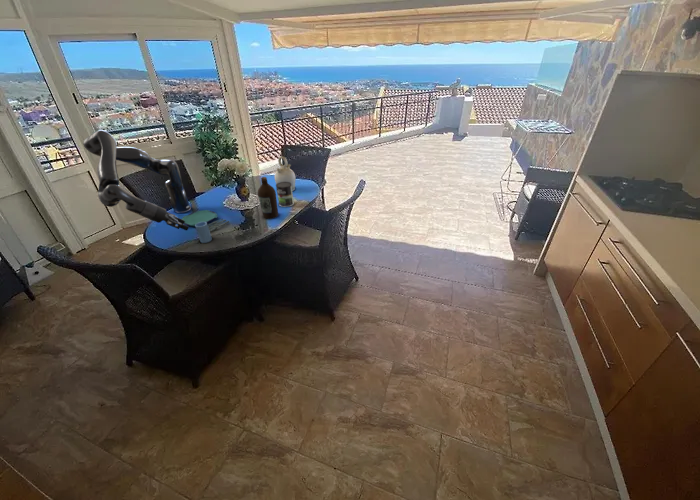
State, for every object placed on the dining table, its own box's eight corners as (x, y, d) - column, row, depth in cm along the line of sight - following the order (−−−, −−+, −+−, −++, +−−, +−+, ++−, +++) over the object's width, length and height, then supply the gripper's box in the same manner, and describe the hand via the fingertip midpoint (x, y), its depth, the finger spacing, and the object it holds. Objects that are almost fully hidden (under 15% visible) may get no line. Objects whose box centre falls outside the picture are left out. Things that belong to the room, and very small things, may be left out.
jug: (289, 184, 232) (285, 152, 219) (300, 189, 223) (297, 156, 209) (272, 189, 224) (267, 156, 210) (283, 195, 214) (278, 160, 200)
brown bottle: (267, 211, 191) (259, 174, 178) (282, 212, 189) (275, 175, 176) (259, 218, 183) (251, 180, 169) (275, 220, 181) (267, 181, 167)
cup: (198, 242, 161) (192, 226, 155) (204, 236, 165) (199, 221, 160) (207, 243, 160) (202, 227, 154) (214, 237, 164) (209, 222, 159)
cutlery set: (206, 210, 195) (205, 207, 193) (233, 222, 180) (232, 219, 178) (176, 222, 182) (175, 218, 180) (203, 236, 166) (201, 232, 165)
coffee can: (289, 208, 195) (286, 188, 188) (276, 205, 199) (272, 186, 191) (296, 202, 203) (294, 182, 196) (284, 200, 207) (281, 180, 199)
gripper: (146, 213, 145) (178, 226, 157) (150, 223, 136) (185, 237, 148) (154, 200, 145) (186, 214, 157) (159, 210, 136) (193, 224, 148)
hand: (185, 225), depth 153 cm, fingers open, 8 cm apart
